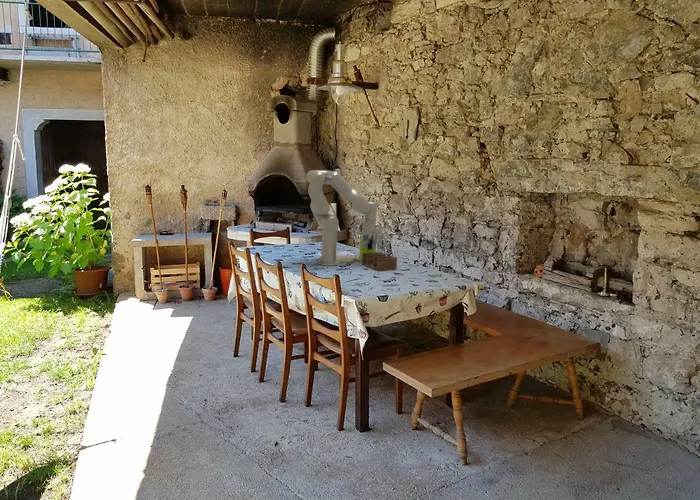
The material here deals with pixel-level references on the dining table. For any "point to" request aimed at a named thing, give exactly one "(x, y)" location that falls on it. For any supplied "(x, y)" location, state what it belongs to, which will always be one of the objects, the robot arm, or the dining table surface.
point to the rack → (379, 261)
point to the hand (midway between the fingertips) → (367, 248)
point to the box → (366, 245)
